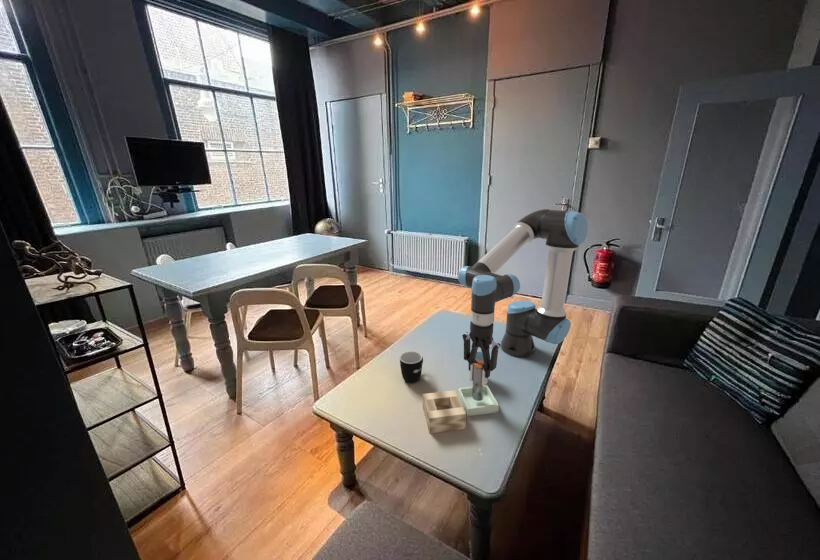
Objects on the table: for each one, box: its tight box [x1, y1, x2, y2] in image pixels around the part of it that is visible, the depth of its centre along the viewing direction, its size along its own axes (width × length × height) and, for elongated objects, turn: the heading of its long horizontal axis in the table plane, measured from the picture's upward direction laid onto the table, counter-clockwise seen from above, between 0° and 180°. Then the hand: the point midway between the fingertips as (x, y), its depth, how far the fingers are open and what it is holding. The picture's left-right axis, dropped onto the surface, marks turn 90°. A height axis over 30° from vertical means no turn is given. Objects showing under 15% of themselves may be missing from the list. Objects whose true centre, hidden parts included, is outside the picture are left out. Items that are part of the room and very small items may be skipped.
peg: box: [471, 359, 485, 401], centre depth 115 cm, size 4×4×14 cm
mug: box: [399, 351, 424, 384], centre depth 132 cm, size 12×9×10 cm
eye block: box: [422, 389, 467, 434], centre depth 111 cm, size 12×12×6 cm
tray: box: [457, 384, 500, 417], centre depth 118 cm, size 11×11×3 cm
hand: (478, 381), depth 115 cm, fingers closed on peg, 4 cm apart
